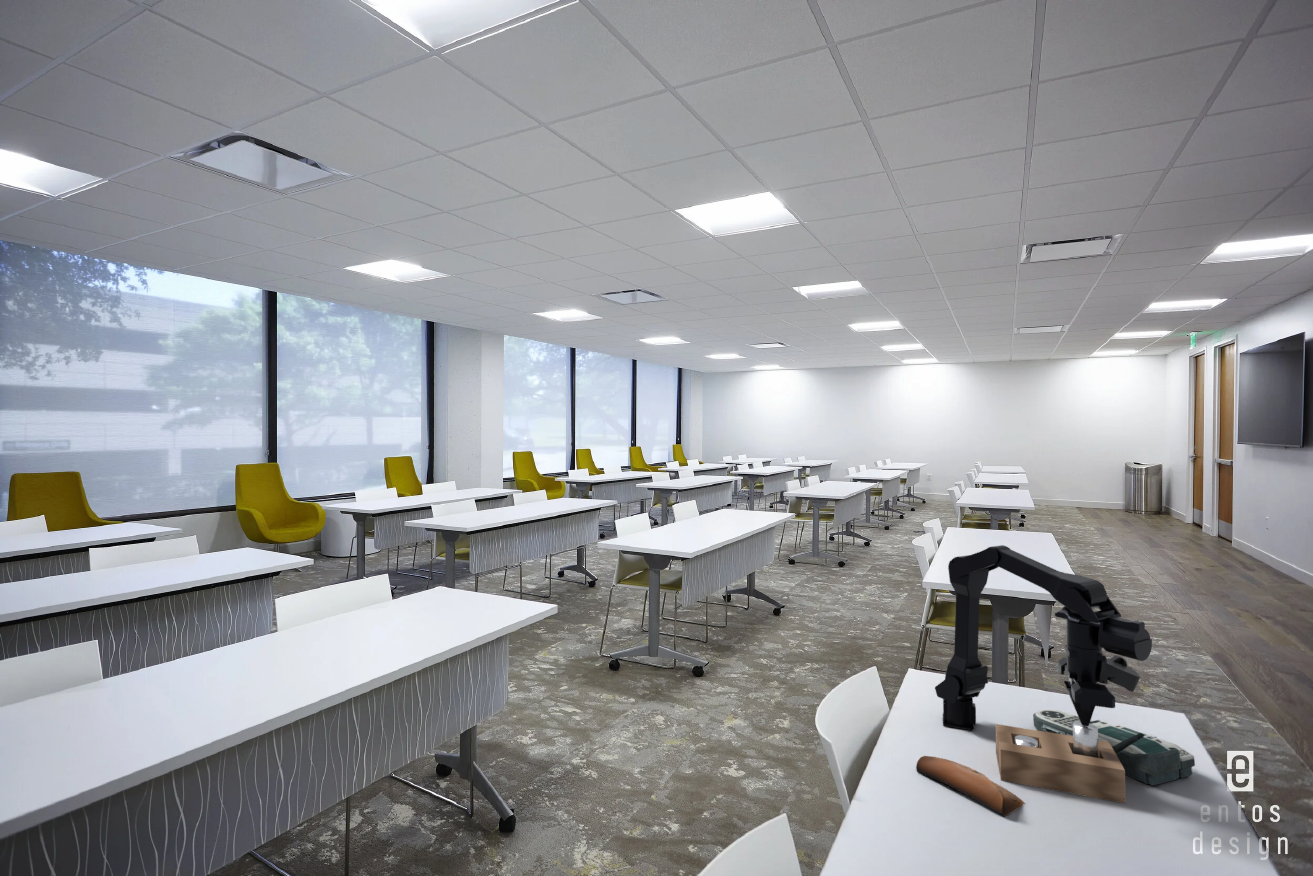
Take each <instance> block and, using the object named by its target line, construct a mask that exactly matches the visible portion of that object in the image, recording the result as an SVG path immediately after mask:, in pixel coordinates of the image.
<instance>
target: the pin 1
mask: <svg viewBox="0 0 1313 876" xmlns="http://www.w3.org/2000/svg"><path fill="white" fill-rule="evenodd" d="M1015 744H1017V745H1023V746H1029V747H1035V748H1038V741H1037V740H1036V739H1034V738H1032V737H1029V736H1023V735H1018V736H1015Z"/></svg>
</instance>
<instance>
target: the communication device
mask: <svg viewBox="0 0 1313 876" xmlns="http://www.w3.org/2000/svg"><path fill="white" fill-rule="evenodd" d="M1032 717H1033V726H1034V728H1035V729H1036V730H1037V731H1044V732H1050V733H1057V734H1063V735H1069V736H1073V723H1074V722H1080V719H1079V717H1078V715H1075V714H1073V713H1070V712H1066V711H1062V710H1056V709H1041V710H1038V711H1036V712H1034V713H1033V715H1032ZM1090 724H1093V725H1095V726H1096V727H1097V728H1098V740H1102V741H1108V742H1109V743H1110V744H1111V746H1112V748H1113V750H1114V752H1115V753H1116V755H1117V757H1118V759H1119V761H1120V762H1121V764H1122V766H1123V768H1124V770H1125V776H1126V777H1130V778H1131V779H1133V780H1134V779H1135V780H1137V781H1139V782H1142V783H1143V784H1148V785H1151V786H1156V785H1160V784H1164V783H1168V782H1171V781H1175V780H1178V779H1179V778H1186V777H1191V776H1192V775H1193V767H1195V766H1196V763H1195V762H1196V761H1195V755H1193V754H1192V753H1190V752H1189V751H1187V750H1186V749H1185V748H1183V747H1181V746H1180V745H1178V744H1177V743H1174V742H1171V741H1168V740H1164V739H1162V738H1159V737H1157V736H1156V735H1153V734H1151V735H1150V734H1147V733H1144V732H1141V731H1138V730H1135V729H1133V728H1130V727H1126V726H1124V725H1120V724H1116V725H1112V724H1109V722H1108V721H1106V720H1103V721H1102V720H1100V719H1097V720H1091V721H1090Z"/></svg>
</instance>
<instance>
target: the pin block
mask: <svg viewBox="0 0 1313 876" xmlns="http://www.w3.org/2000/svg"><path fill="white" fill-rule="evenodd" d="M1018 735H1023V736H1029V737H1032V738H1034V739H1036V740H1037V741H1038V748H1035V747H1029V746H1023V745H1017V744H1015V736H1018ZM995 755H996V760H997V766H998V771H999V778H1000V781H1003V782H1008V783H1015V784H1020V785H1023V786H1024V785H1025V786H1031V787H1036V788H1042V789H1047V790H1052V791H1057V792H1062V793H1067V794H1073V795H1079V796H1083V797H1084V796H1085V797H1087V798H1088V797H1089V798H1094V799H1101V800H1106V801H1109V802H1110V801H1111V802H1116V803H1121V804H1126V775H1125V770H1124V768H1123V766H1122V764H1121V762H1120V761H1119V759H1118V757H1117V755H1116V753H1115V752H1114V750H1113V748H1112V746H1111V744H1110V743H1109V742H1108V741H1102V740H1098V758H1096V757H1090V756H1084V755H1078V754H1073V736H1069V735H1063V734H1057V733H1050V732H1044V731H1038V730H1037V729H1036V730H1035V729H1029V728H1023V727H1015V726H1010V725H1003V724H997V723H995Z"/></svg>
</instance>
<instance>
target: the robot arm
mask: <svg viewBox="0 0 1313 876" xmlns="http://www.w3.org/2000/svg"><path fill="white" fill-rule="evenodd" d="M947 566H948V567H947V569H948V576H949V583H950V585H951V586H952V588H953V590H954V592H955V615H954V646H953V647H954V648H953V649H954V650H953V655H952V657H951V658H950V660H949V661H948V664H947V666H946V670H945V677H944V680H942V681H941V682H940V683H938V684H937V685H936V686H934V689H935V690H934V691H935V694H936V696H937V698H940V699H942V700H943V701H942V705H943V707H942V708H943V709H942V710H943V712H942V726H944V727H949V728H956V729H961V730H967V731H975V726H976V725H977V714H976V713H977V709H976V708H977V707H976V703H975V702H974V701H973V698H978V697H979V695H980V693H981V691H983V690H985V687H986V684H989V680H988V671H989V667H988V666H987V665H984V664H982V662H981V660H980V657H979V654H978V653H979V631H980V630H979V628H980V627H979V624H980V601H981V599H980V598H981V597H980V596H981V594H982V592H983V590H984V588H985V587H986V585H987V583H988V579H989V578H988V577H989V572H991V571H994V570H996V569H998V568H1000V569H1002V570H1004V571H1007V572H1009V573H1011V574H1013V575H1015V576H1017V577H1019V578H1021V579H1023V580H1026V581H1027V582H1028V583H1031V584H1033V585H1036V586H1038V587H1040V588H1041V589H1043V590H1045V591H1047V592H1048V593H1049V594H1050V595H1051V597H1053V599H1054V600H1055V601H1057V602H1058V604H1059V603H1060V604H1061V605H1062V606H1063V607H1062V608H1061V609H1060V610H1059V611H1057V612H1055V613H1054V616H1055V617H1056V618H1061V619H1064V620H1066V644H1064V650H1065V652H1066V657H1062V658H1060V659H1059V660H1058V661H1057V662H1058V663H1057V666H1058V668H1057V670H1058V672H1059V674H1060V675H1065V673H1066V675H1067V677H1068V680H1064V681H1063V685H1064V686H1065V688H1066V691H1067V693H1068V695H1069V698H1070V701H1071V703H1072V705H1073V708H1074V710H1075V712H1076V714H1077V715H1076V716H1078V717H1079V719H1080V722H1081V724H1082V725H1083V726H1089V724H1090V721H1092V717H1093V714H1094V711H1095V709H1096V707H1099V708H1100V707H1102V708H1107V709H1115V708H1116V696H1115V695H1114V693H1113V692H1112V691H1111V689H1110V688H1109V687H1107V686H1106V685H1108V682H1110V683H1113V684H1116V685H1118V686H1119V687H1121V688H1124V689H1125V690H1127V691H1129V692H1131V693H1132V692H1133V693H1134V692H1135V690H1136V687H1137V686H1138V683H1139V681H1140V679H1141V676H1140V675H1139V673H1138V672H1137V671H1136V670H1135V669H1133V668H1132V667H1130V666H1128V662H1127V660H1126V659H1125V658H1124V657H1126V658H1129V659H1132V660H1136V661H1140V662H1145V661H1146V660H1147V659H1148V658H1149V656H1150V654H1151V652H1152V648H1153V647H1152V646H1153V639H1152V638H1151V636H1150V633H1149V631H1148V630H1147V628H1146V627H1145V626H1146V624H1145V622H1143V621H1139V620H1130V619H1126V618H1122V615H1121V613H1120V611H1119V610H1118V608H1117V607H1116V606H1115V604H1114V603H1113V601H1112V600H1111V599H1110V597H1109V595H1108V594H1107V590H1106V589H1105V585H1104V584H1103V583H1101V582H1100V581H1099V580H1097V579H1094V578H1091V577H1086V576H1083V575H1079V574H1073V573H1067V572H1062V571H1059V570H1058V569H1055V568H1052V567H1050V566H1048V565H1046V564H1043V563H1041V562H1039V561H1037V560H1035V559H1033V558H1030V557H1028V556H1026V555H1024V554H1022V553H1019V552H1017V551H1015V550H1013V549H1011V548H1010V547H1009V546H1006V545H1003V544H1001V545H995V546H993V545H992V546H989V547H988V546H987V548H986V549H982V550H981V551H978V552H975V553H971V554H967V555H959V556H955V557H953V558H952V559H950V560H949V562H948V565H947ZM1097 609H1099V610H1097ZM1094 610H1097V611H1094ZM1145 628H1146V629H1145ZM1103 649H1104V651H1106V652H1108V653H1111V654H1114V655H1113V657H1111V658H1109V657H1108V658H1107V656H1106V655H1105V654H1104V653H1103Z"/></svg>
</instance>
